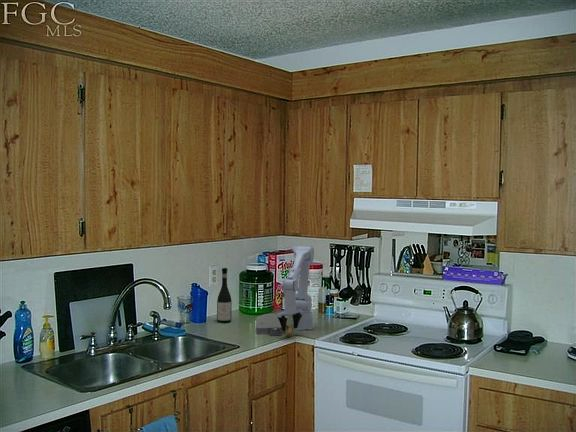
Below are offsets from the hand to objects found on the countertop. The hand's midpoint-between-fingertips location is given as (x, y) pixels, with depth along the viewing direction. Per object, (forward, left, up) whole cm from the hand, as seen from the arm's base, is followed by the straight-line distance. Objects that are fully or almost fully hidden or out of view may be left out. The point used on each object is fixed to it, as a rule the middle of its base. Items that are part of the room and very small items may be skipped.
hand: (289, 329), depth 281 cm
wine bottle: (+31, -36, -4) cm, 47 cm away
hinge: (+7, -13, -4) cm, 16 cm away
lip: (+7, -5, -4) cm, 9 cm away
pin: (+1, 0, -4) cm, 4 cm away
